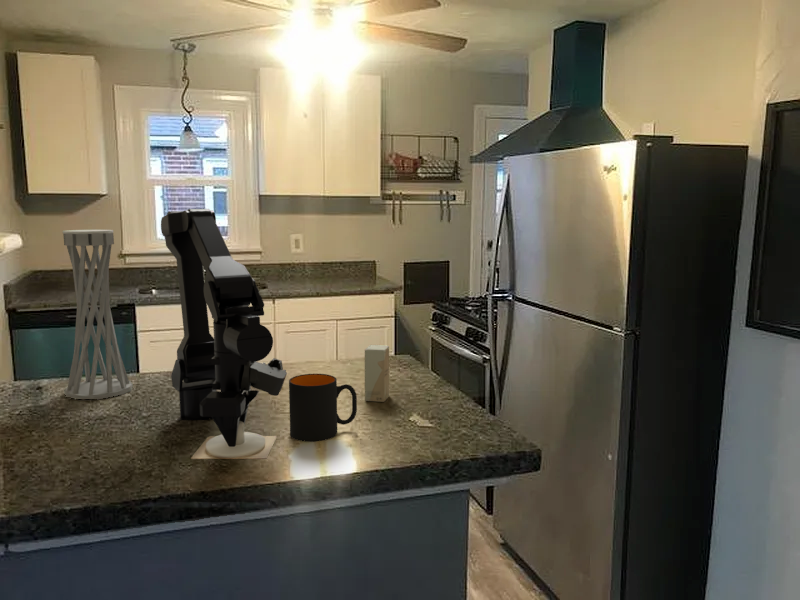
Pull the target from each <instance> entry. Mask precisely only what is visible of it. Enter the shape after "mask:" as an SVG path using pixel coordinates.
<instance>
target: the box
mask: <svg viewBox="0 0 800 600" xmlns="http://www.w3.org/2000/svg"><path fill="white" fill-rule="evenodd" d="M389 397H390V346H389V345H380V344H370V345H368V346H367V347H366V348H365V349H364V401H366V402H379V403H381V402H382V403H383V402H386V400H388V399H389Z"/></svg>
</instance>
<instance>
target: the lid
mask: <svg viewBox="0 0 800 600" xmlns="http://www.w3.org/2000/svg"><path fill="white" fill-rule="evenodd" d="M263 436H264V435H261V434H259V433H256V432H249V431H245V425H244V422H242V421H239V427H238V434H237V441H236V446H235V447H229V446H228V444H227V442H226V441H225V439H224V437H223V435H222V434H219V435H216V437H214V438H212V439H210V440H209V441H208V442H207V443H206V451H207V453H208V454H210V455H212V456H215V457H221V458H237V457H244V456H248V455H252V454H255V453H257V452H259V451H261V450H262V449H263V448H264V447H265V438H264V437H263Z"/></svg>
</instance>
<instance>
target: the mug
mask: <svg viewBox="0 0 800 600" xmlns="http://www.w3.org/2000/svg"><path fill="white" fill-rule="evenodd" d="M337 380H338V379H337V378H336V376H334V375H331V374H326V373H304V374H300V375H299V374H298V375H296V376H293V377H291V378H290V379H289V380H288V399H289V400H288V402H289V403H288V404H289V436H290V437H291V439H293V440H296V441H299V442H306V443H307V442H308V443H309V442H311V443H313V442H314V443H315V442H322V441H327V440H331V439H333V438H334V437H336V436H337V435H338V424H339V425H348V424H350V423H352V422H353V420H354V419H355V418H356V415H357V411H358V409H357V408H358V401H357V400H358V399H357V397H358V396H357V392H356V390H355V388H354V387H353V386H352V385H350V384H347V383H346V384H342V385H337V383H338V382H337ZM345 389H346V390H348V391H349V392H350V394H351V403H352V404H351V406H352V408H351V414H350V416H349V417H348V418H347V419H341V418H340V416H339V414H338V398H339V395H340V393H341V392H342V391H343V390H345Z"/></svg>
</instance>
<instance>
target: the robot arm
mask: <svg viewBox="0 0 800 600" xmlns="http://www.w3.org/2000/svg"><path fill="white" fill-rule="evenodd" d="M216 219H217V217H216V214H215V211H214V210H211V209H210V208H188V209H187V210H182V211H181V210H180V211H178V210H176V211H175V210H174V211H173V210H171V211H167V213H166V215H164V216H162V217H161V220H160V230H161V234H162V237H164V241H165V246H166V249H168V250H169V252H170V253H171V254H172V256H173V257H174V258H175V259H176V260H175V261H176V267H177V276H178V277H177V278H178V286H179V288H178V289H179V296H180V307H181V317H182V326H183V338H182V340H181V341H180V342H179V343H180V344H179V345H178V348H177V350H176V360H175V361H174V364H173V368H172V372H171V376H170V379H171V384H172V385H171V386H172V387H173V388H174V389H175V390H176V391H177V392H179V411H180V415H179V417H178V418H177V420H178V421H213V422H214V424H215V425H216V426H217V429H218V430H219V431H220V435H223V437H224V439H225V441H226V442H227V444H228V446H229V447H235V446H236V441H237V434H238V427H239V421H242V422H244V426H245V425H246V420H247V416H248V415H247V414H248V410H249V406H250V403H251V402H252V401H253V400H254V399H255V398H256V397H257V395H258V394H259V392H260V391H263V392H266V393H267V394H268V395H270V396H273V397H274V396H275V397H276V396H278V395H279V394H280V393H281V391H282V389H283V386H284V382H285V380H286V377H287V374H288V373H287V370H286V369H284V367H283V361H282V360H280V359H278V358H275V357H273V358H272V359H271V360H270V361H269V362H268V363H267V364H266V362H265V361H263V362H262V363H261V362H259V361H261V360H263V359H265V358H266V357H267V356H268V355H269V354H270V353H271V351H272V349H273V346H274V337H273V336H272V333H271V331H270V330H269V329H268V328H267V327H266V326H265V325H262V324H261V319H260V318H261V317H263V316H265V311H264V307H265V302H264V300H263V298H262V295H261V293H260V289H259V288H258V285H257V283H256V280H255V279H254V278H253V277H252V274H251V273H250V272H249V271H248V269H247V267H246V266H245V265H244V264H242V263H240V262H238V261H236V260H234V258H233V256H232V254H231V252H230V250H229V248H228V246H227V244H226V241H225V239H224V238H223V235H222V233H221V231H220V229H219V226H218V224H217V220H216ZM204 271H205V274H206V275H204ZM208 310H209V311H208ZM209 312H210V315H211V318H212V321H213V322H212V323H213V324H212V325H213V335H212V333H211V332H210V325H209V324H210V323H209V314H208V313H209ZM251 387H252V388H254V389H257V390H254V389H253V390H251ZM219 390H220V391H219Z"/></svg>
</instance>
